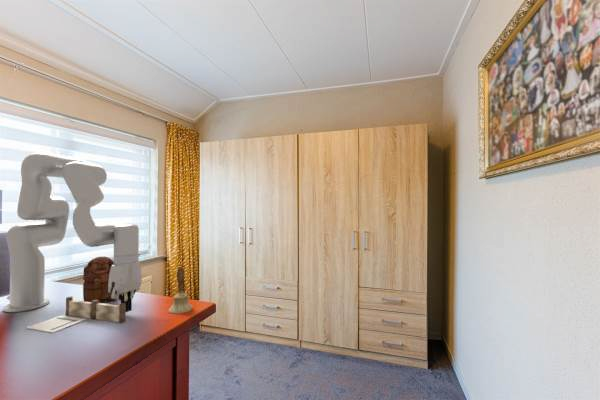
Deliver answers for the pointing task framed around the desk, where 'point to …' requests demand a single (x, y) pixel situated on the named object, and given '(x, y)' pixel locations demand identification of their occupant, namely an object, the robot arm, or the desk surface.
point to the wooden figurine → (97, 280)
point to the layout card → (56, 324)
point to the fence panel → (111, 312)
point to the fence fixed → (81, 308)
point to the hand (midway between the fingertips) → (126, 310)
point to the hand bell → (180, 296)
